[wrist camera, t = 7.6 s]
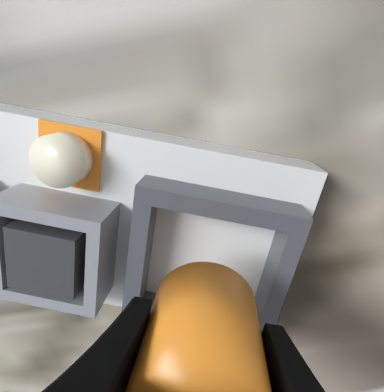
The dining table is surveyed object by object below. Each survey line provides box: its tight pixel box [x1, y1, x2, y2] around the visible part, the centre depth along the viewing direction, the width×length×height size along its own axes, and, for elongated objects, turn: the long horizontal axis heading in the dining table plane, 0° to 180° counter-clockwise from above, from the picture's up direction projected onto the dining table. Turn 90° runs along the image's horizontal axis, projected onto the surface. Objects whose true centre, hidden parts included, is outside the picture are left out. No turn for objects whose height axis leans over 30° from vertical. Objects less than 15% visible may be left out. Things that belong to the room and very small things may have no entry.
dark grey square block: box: [3, 219, 86, 301], centre depth 13 cm, size 3×3×2 cm
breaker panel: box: [0, 103, 328, 333], centre depth 14 cm, size 10×22×5 cm, turn 80°
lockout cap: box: [126, 262, 272, 392], centre depth 9 cm, size 4×4×5 cm
